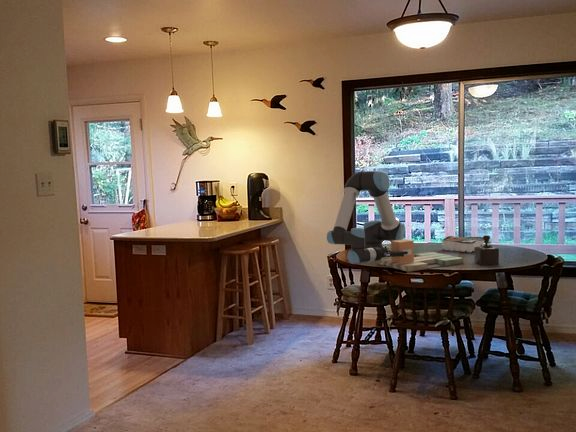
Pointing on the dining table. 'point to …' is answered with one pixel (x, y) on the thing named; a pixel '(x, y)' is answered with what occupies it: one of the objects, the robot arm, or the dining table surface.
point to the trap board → (423, 261)
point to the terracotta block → (402, 245)
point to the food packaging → (462, 243)
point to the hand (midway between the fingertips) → (403, 250)
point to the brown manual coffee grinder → (486, 253)
